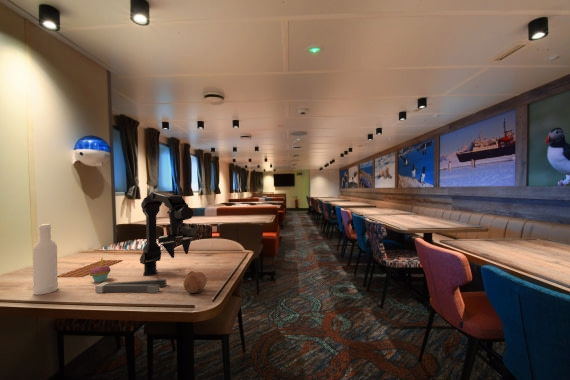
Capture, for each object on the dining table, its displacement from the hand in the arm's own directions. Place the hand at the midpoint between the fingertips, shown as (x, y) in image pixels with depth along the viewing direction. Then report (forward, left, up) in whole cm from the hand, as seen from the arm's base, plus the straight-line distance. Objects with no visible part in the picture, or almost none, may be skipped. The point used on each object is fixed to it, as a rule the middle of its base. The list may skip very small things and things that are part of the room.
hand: (180, 255), depth 111 cm
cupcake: (-30, -35, -15) cm, 48 cm away
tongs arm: (-10, -17, -14) cm, 24 cm away
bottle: (-26, -54, -15) cm, 61 cm away
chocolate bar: (-57, -43, -15) cm, 73 cm away
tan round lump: (+9, +5, -15) cm, 18 cm away
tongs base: (-7, -20, -14) cm, 26 cm away
